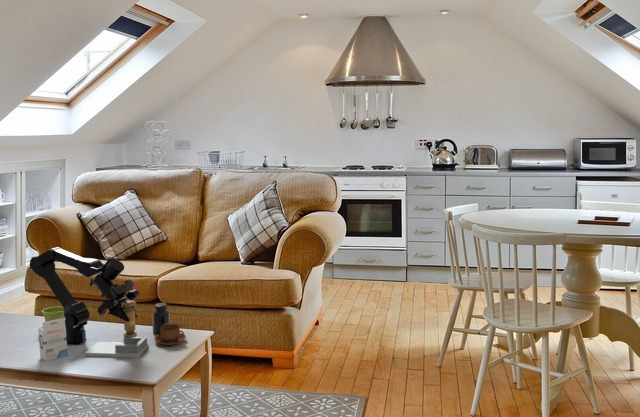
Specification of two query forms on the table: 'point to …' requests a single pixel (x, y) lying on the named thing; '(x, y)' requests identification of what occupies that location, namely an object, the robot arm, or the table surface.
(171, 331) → the cup and saucer
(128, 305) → the bobbin
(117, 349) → the board
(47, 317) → the plant pot
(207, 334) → the table surface
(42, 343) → the ink box
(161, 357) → the table surface
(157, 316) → the supplement bottle
